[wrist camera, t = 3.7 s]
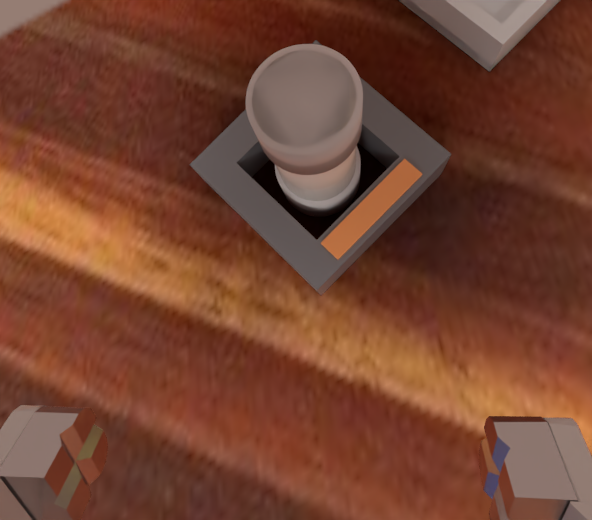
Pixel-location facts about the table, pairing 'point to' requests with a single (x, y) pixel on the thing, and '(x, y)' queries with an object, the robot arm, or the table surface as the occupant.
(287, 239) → the block
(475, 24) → the tray
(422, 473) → the table surface
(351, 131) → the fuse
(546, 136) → the table surface
